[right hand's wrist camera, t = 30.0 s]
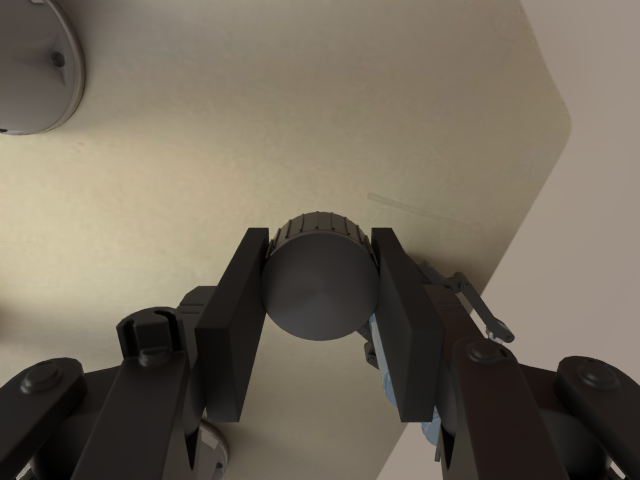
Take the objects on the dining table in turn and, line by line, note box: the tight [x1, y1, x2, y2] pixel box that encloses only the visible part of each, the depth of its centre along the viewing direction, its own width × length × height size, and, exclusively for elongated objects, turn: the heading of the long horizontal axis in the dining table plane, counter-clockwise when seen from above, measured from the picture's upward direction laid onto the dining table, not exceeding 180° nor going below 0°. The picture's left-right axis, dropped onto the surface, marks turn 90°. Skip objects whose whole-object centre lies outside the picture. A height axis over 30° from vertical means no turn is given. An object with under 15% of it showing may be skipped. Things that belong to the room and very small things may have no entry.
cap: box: [260, 211, 380, 341], centre depth 13 cm, size 4×4×2 cm
